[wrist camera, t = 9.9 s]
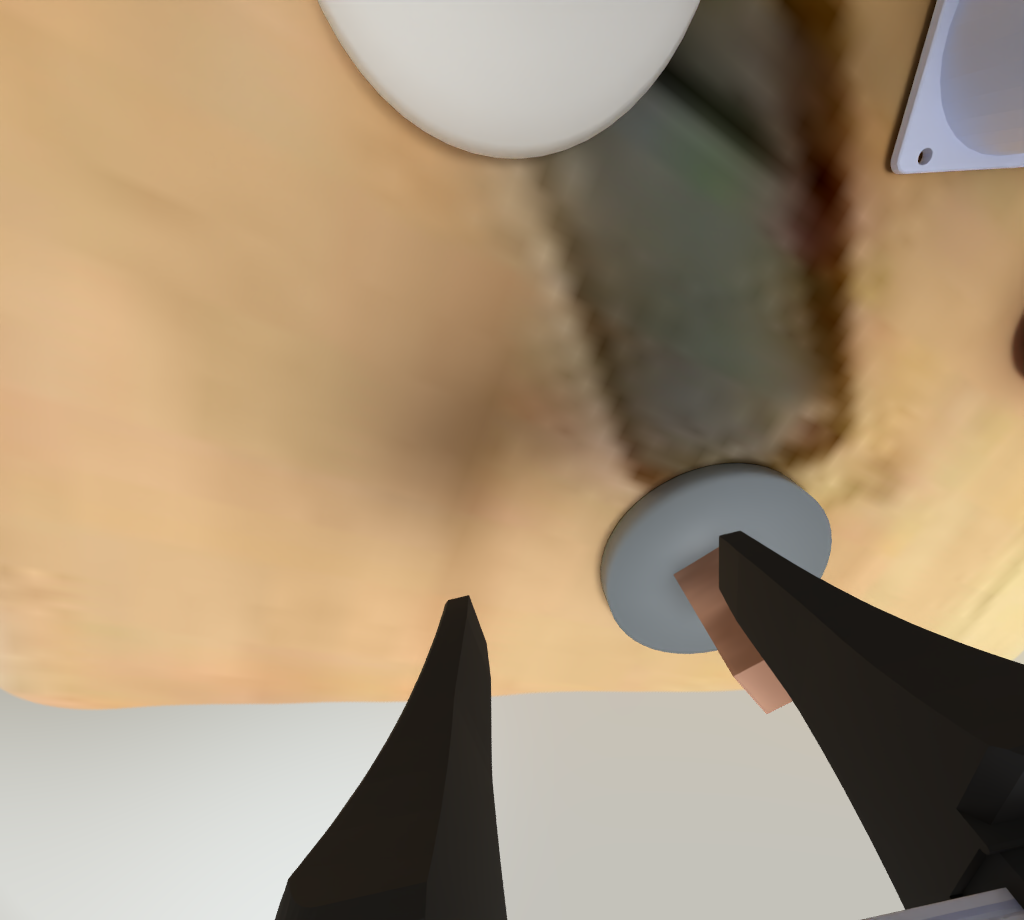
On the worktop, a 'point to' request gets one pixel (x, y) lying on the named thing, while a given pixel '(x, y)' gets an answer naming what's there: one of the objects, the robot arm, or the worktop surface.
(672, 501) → the slate base plate
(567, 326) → the worktop surface
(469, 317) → the worktop surface
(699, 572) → the terracotta block
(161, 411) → the worktop surface
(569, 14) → the flower in vase
